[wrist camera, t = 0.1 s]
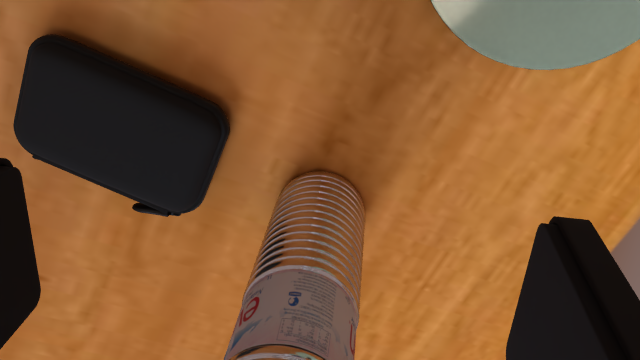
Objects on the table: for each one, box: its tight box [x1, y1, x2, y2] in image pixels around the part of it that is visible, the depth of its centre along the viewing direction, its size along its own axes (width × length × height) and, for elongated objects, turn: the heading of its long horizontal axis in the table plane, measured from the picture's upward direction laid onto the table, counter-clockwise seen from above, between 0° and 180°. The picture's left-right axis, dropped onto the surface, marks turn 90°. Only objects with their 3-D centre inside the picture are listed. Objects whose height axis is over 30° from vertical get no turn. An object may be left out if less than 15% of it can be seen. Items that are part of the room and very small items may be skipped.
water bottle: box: [224, 171, 365, 360], centre depth 35 cm, size 7×7×25 cm
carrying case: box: [14, 34, 230, 217], centre depth 43 cm, size 11×3×15 cm
